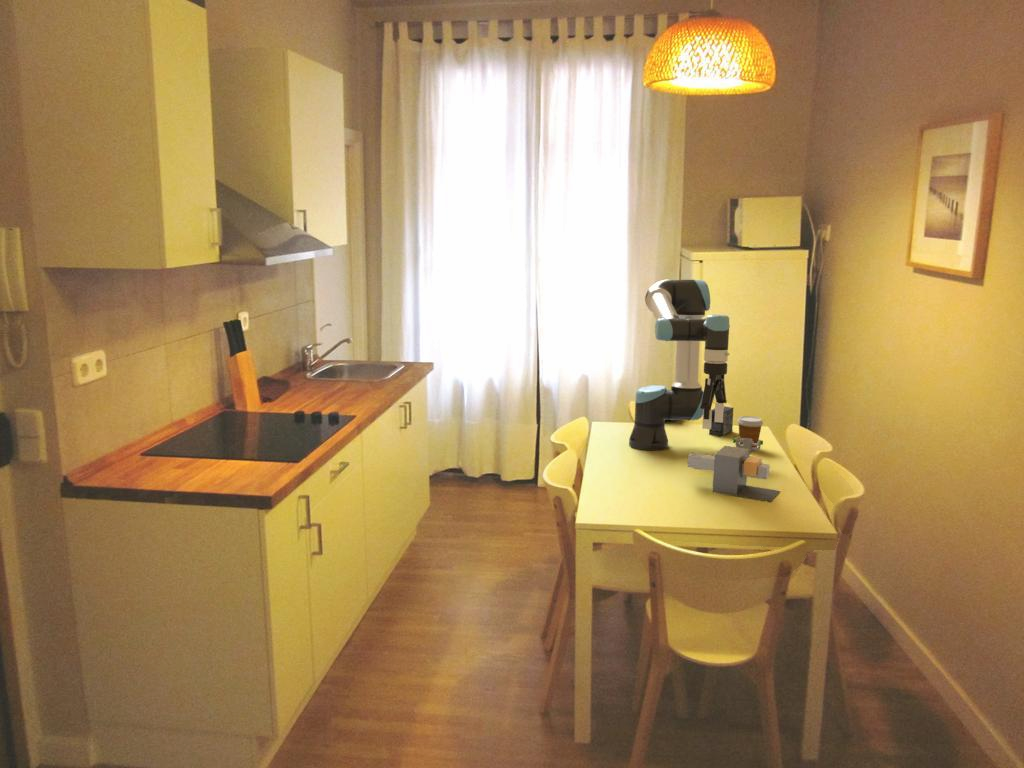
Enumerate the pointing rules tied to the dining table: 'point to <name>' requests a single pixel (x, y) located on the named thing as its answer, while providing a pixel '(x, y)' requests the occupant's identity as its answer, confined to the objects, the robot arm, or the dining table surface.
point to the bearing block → (729, 470)
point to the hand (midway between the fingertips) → (712, 425)
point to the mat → (758, 493)
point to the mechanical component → (747, 444)
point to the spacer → (751, 465)
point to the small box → (724, 427)
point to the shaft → (708, 464)
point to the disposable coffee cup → (750, 428)
